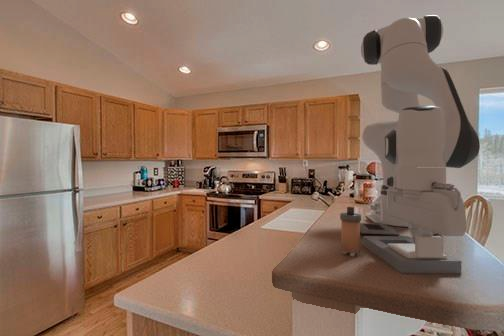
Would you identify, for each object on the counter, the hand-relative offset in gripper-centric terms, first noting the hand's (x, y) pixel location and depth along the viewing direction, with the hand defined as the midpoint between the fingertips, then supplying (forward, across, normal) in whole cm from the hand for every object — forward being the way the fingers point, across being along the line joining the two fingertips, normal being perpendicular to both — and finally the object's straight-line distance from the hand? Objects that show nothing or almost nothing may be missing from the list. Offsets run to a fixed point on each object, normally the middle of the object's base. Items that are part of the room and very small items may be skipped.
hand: (420, 246), depth 54 cm
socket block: (+4, +6, 0) cm, 7 cm away
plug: (+4, +8, +12) cm, 15 cm away
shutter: (+2, +1, 0) cm, 2 cm away
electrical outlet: (+5, +28, -3) cm, 29 cm away
